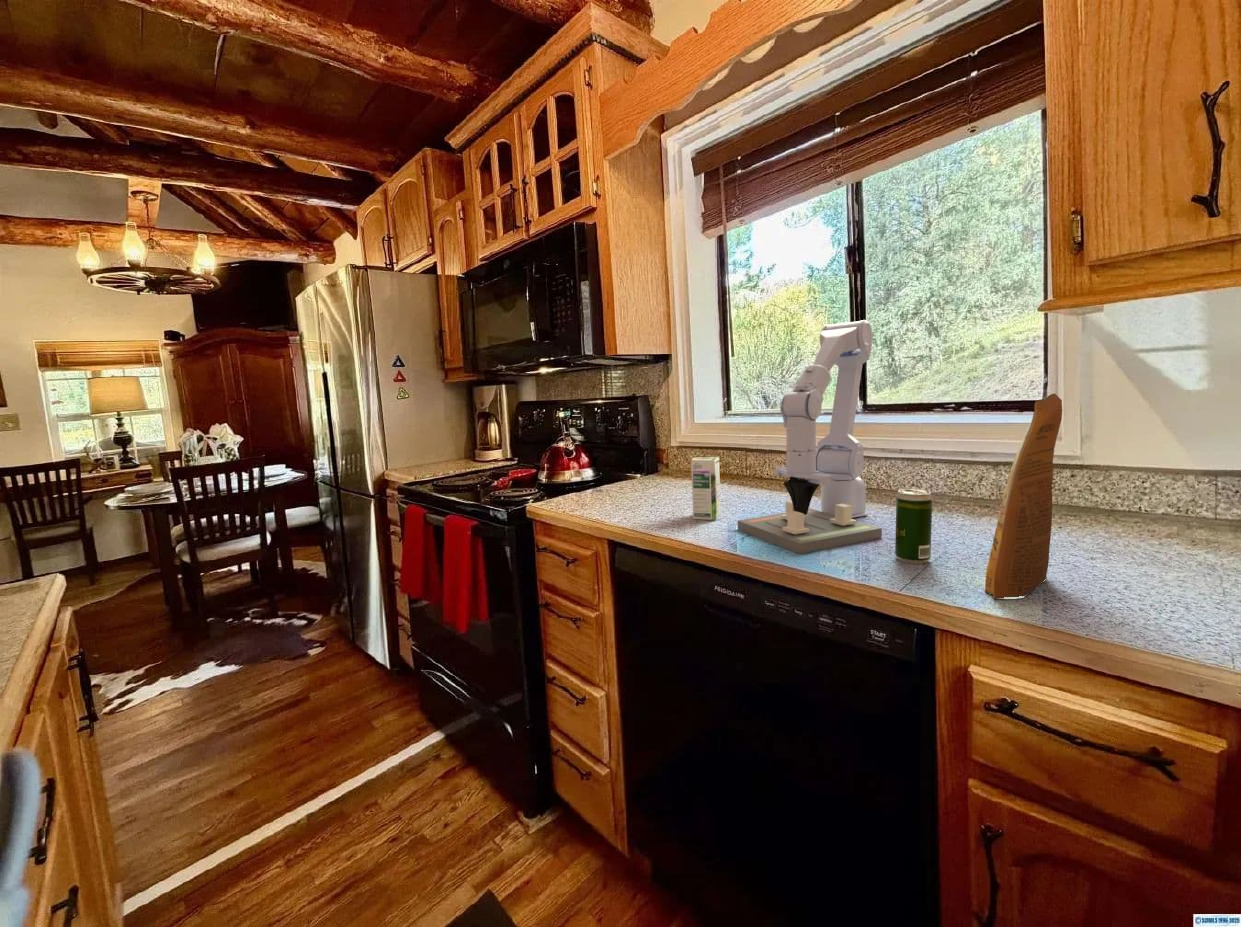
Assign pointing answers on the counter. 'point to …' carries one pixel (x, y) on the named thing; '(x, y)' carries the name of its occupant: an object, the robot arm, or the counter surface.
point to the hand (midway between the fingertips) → (801, 514)
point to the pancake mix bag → (1026, 509)
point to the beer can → (913, 526)
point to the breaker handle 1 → (795, 523)
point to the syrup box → (705, 488)
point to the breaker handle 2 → (843, 515)
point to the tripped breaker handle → (789, 509)
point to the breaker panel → (818, 536)
